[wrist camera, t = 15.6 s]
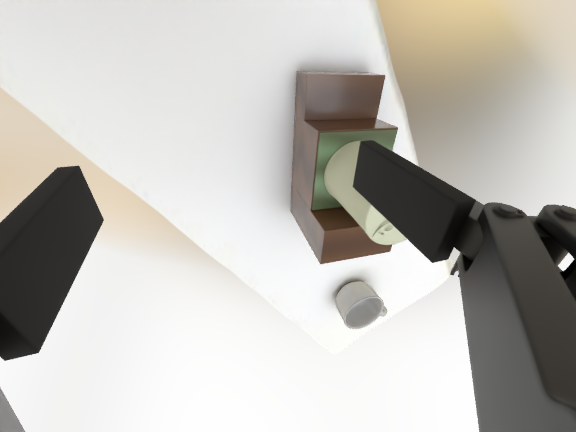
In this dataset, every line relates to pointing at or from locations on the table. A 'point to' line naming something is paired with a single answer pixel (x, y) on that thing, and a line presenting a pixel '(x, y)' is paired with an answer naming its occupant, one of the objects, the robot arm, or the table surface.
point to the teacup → (359, 305)
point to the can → (357, 196)
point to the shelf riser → (320, 148)
